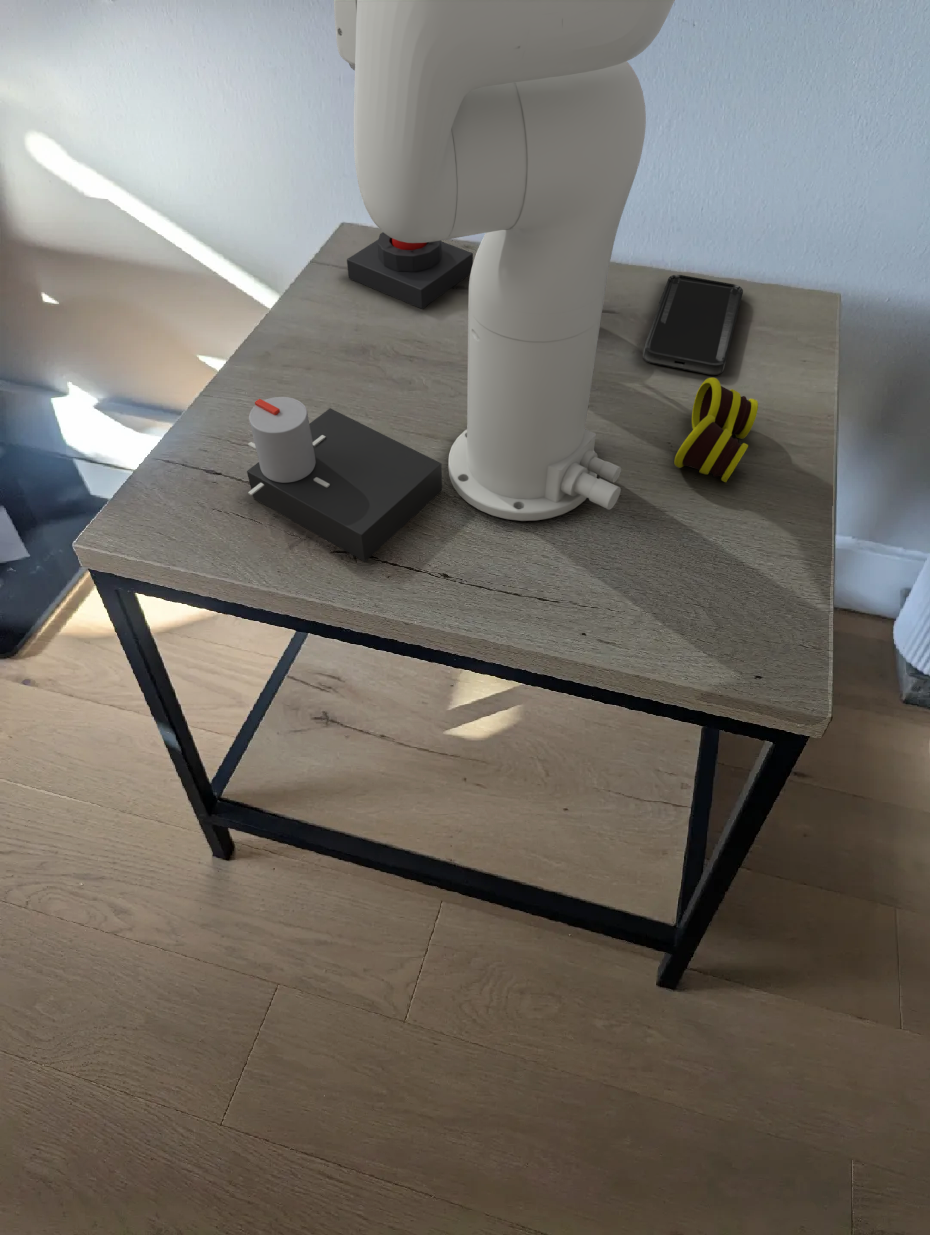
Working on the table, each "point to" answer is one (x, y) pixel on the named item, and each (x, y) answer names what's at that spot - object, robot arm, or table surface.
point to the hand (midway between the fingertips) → (402, 149)
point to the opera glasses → (717, 430)
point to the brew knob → (282, 439)
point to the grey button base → (410, 269)
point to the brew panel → (353, 486)
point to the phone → (693, 325)
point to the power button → (407, 245)
